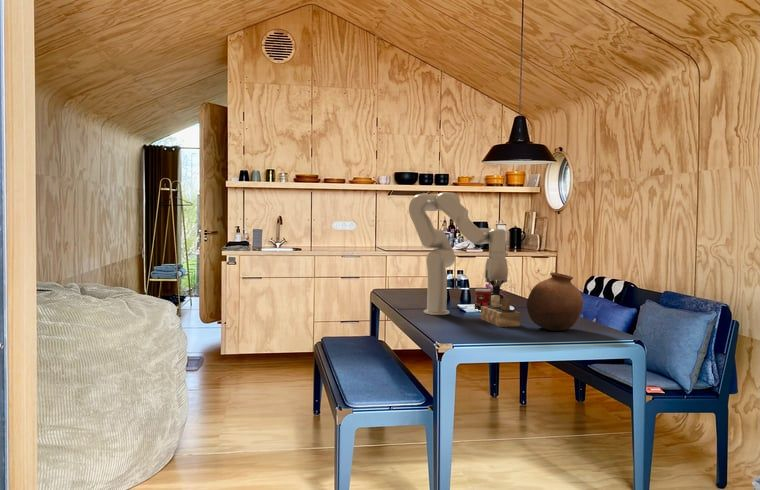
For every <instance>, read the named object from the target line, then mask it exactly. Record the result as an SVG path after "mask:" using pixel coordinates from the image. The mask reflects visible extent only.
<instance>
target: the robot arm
mask: <svg viewBox="0 0 760 490" xmlns="http://www.w3.org/2000/svg"><path fill="white" fill-rule="evenodd" d="M436 211H438V212H439V211H442V212H443V213H444V214H445V215H446V216H447V217H448V218H449V219H450V220H452V222H454V224H455V226H456V227H457V229H458V231H459V233H460V234H462V235H463V236H464V237H465V239H467V240H468V241H469V242H470V243H472V244H474V245H485V244H488V258H486V262H485V268H484V279H485V283H489V284H490V285H491V287H492V290H491V293H492V294H493V295H498V296H500V293H501V287H502V285H503V284H504V283H507V282H508V277H509V268H508V266H509V265H508V260H507V258H506V257H508V255H509V254H508V253H507V252H506V248H507V247H506V246H507V244H506V242H507V232H506V230H505V229H502V228H487V227H478V226H477V225H476V224H474V222H473V221H472V220H471V218H469V210H468V209H467V208H466V207H465V206H464V205H463V204H462V203H461V200H460V196H458V194H456V193H455V192H447V191H446V192H445V191H443V192H440V193H434V194H432V193H431V194H430V193H419V194H416V195H415V196H414V197H412V199H411V200H410V202H409V205H408V213H409V214H408V215H409V217H410V219H411V221H412V224H413V226H414V229H415V231H416V233H417V236H418V238H419V240H420V243H421V245H422V246H423V248H425V249H433V250H431V251H430V252H428V254H427V255H426V260H425V261H426V268H427V289H426V290H427V291H426V293H427V294H426V296H427V297H426V309H424V310H423V313H424V314H425V315H432V316H434V315H435V316H446V315H449V314H450V310H448V309H447V300H448V299H447V297H448V296H447V295H448V294H447V293H448V290H447V289H448V274H447V268H450V267H452V266H453V265H454V263H455V262H456V255H455V252H454V250H453V247H452V245H451V243H450V242H451V241H450V240H449V238H448V236H447V234H446V233H445V232H444V231H443V230H442V229H438V228H435V227H434V225H433V222H432V220H431V218H430V217H429V216H428V214H427V212H436Z"/></svg>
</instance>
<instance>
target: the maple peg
mask: <svg viewBox="0 0 760 490" xmlns="http://www.w3.org/2000/svg"><path fill="white" fill-rule="evenodd" d="M500 306H501V295H492V294H491V307H493V308H494V307H500Z"/></svg>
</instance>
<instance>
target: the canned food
mask: <svg viewBox="0 0 760 490" xmlns="http://www.w3.org/2000/svg"><path fill="white" fill-rule="evenodd" d="M491 296H492V290H491V289H490V288H475V290H474V310H475V309H478V310H481V306H490V305H491Z"/></svg>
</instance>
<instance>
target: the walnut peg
mask: <svg viewBox="0 0 760 490" xmlns="http://www.w3.org/2000/svg"><path fill="white" fill-rule="evenodd" d="M500 306H501V311H510V309H511V307H510V306H511V298H505V297H504V298H500Z"/></svg>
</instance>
